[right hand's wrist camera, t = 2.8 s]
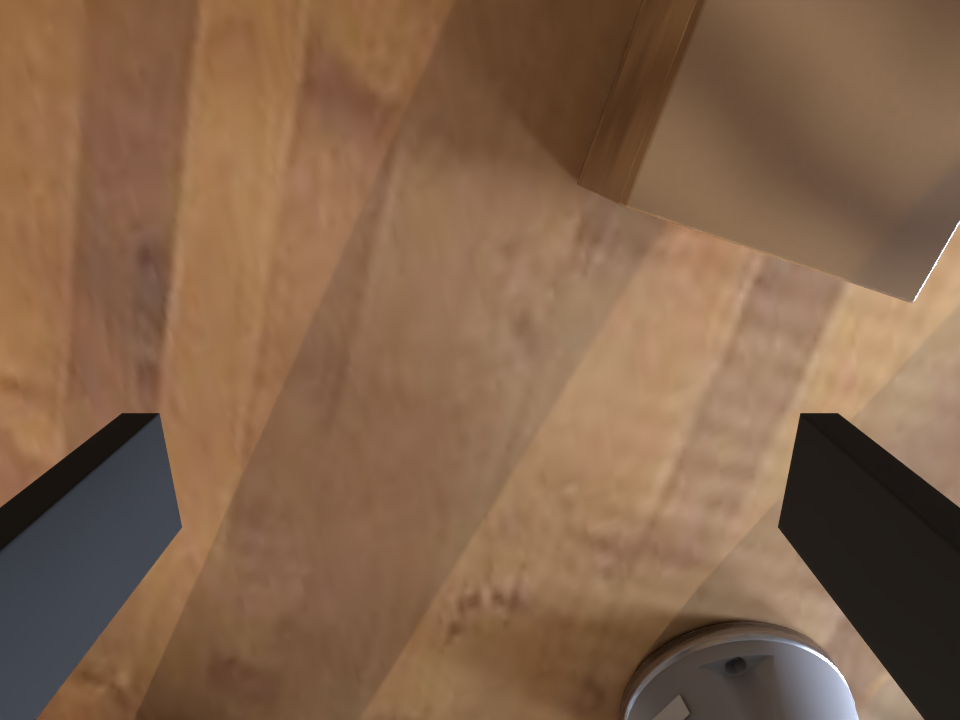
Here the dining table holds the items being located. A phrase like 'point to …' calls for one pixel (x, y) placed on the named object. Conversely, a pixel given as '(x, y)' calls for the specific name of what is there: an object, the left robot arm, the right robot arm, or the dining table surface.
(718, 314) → the dining table surface
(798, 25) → the cabinet
